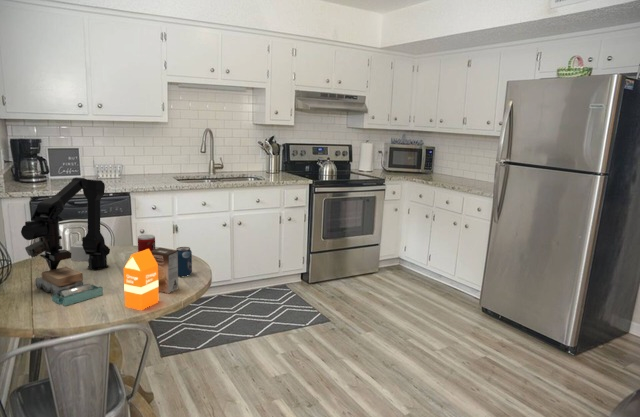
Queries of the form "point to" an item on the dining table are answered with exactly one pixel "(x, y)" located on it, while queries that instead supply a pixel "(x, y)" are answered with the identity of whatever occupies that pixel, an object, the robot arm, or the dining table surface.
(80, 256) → the lumpy-topped squat cylinder
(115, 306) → the dining table surface
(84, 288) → the roller
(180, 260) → the soda can
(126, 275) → the orange juice
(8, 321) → the dining table surface
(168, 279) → the coffee box
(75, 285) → the roller bed
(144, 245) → the canned food
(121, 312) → the dining table surface
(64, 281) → the slab
